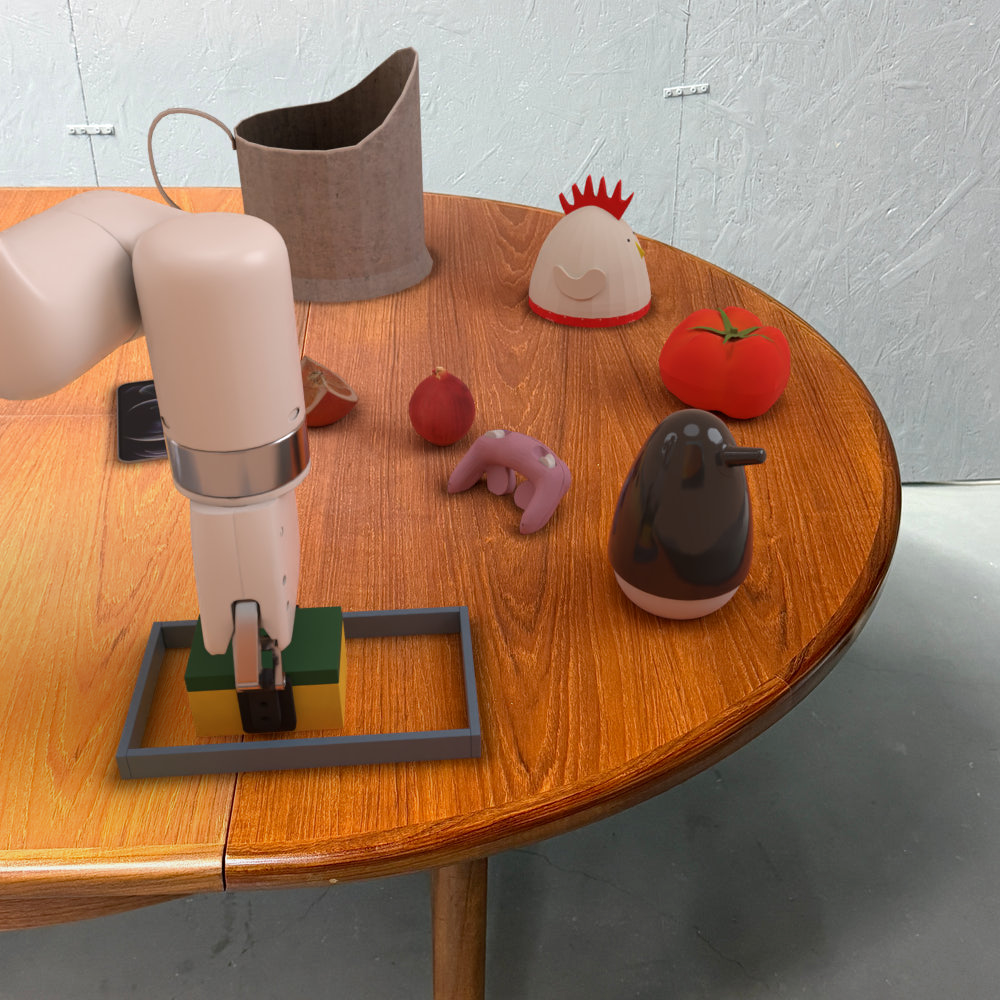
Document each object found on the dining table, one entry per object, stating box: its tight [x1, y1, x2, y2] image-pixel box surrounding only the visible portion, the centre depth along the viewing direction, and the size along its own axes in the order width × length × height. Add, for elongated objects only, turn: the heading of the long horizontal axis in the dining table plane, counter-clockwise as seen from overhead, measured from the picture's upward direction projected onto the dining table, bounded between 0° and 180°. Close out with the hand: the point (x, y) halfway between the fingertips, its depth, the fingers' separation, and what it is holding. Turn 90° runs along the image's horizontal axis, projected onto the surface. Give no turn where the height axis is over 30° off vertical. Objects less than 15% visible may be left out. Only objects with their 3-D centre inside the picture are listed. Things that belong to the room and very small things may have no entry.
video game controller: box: [447, 429, 572, 535], centre depth 88 cm, size 10×5×7 cm, turn 45°
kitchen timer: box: [528, 174, 652, 329], centre depth 119 cm, size 14×14×15 cm
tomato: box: [658, 305, 792, 420], centre depth 101 cm, size 13×12×8 cm
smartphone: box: [116, 379, 169, 465], centre depth 99 cm, size 8×1×15 cm
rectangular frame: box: [115, 605, 482, 781], centre depth 69 cm, size 21×12×2 cm, turn 95°
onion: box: [408, 366, 477, 447], centre depth 95 cm, size 6×6×8 cm
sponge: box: [183, 605, 348, 738], centre depth 67 cm, size 9×6×5 cm, turn 95°
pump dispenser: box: [607, 408, 768, 620], centre depth 75 cm, size 10×10×15 cm
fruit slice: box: [300, 354, 360, 428], centre depth 100 cm, size 8×7×5 cm
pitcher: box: [147, 46, 434, 303], centre depth 124 cm, size 23×32×25 cm
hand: (275, 688), depth 68 cm, fingers closed on sponge, 6 cm apart
